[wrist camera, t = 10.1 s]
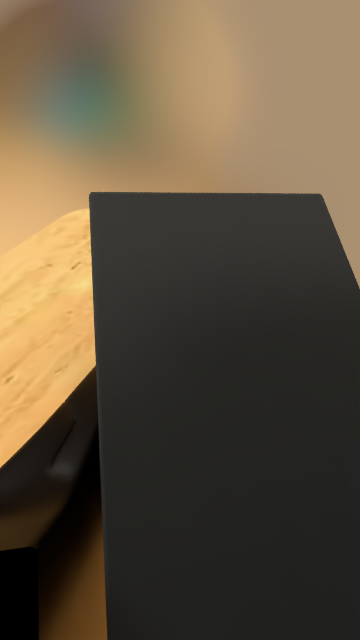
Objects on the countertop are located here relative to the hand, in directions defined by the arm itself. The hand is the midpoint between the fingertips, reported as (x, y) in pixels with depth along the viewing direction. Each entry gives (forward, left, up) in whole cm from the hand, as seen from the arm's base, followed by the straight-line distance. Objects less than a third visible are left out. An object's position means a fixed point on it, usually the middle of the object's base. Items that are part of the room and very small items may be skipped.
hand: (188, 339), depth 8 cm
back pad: (-1, +1, -7) cm, 7 cm away
